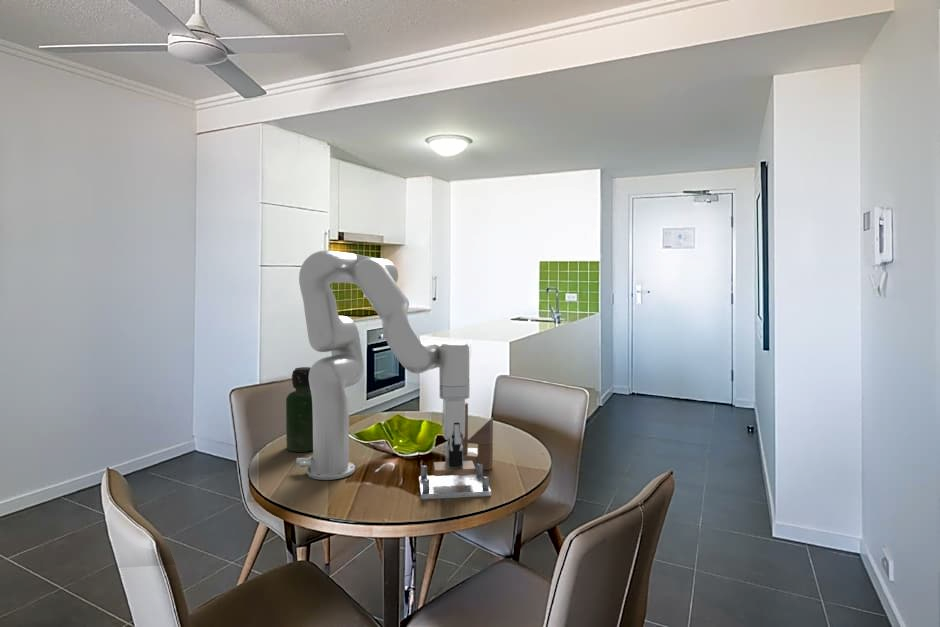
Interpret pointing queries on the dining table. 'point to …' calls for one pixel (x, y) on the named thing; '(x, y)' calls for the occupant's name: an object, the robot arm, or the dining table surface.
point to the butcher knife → (473, 450)
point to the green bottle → (299, 413)
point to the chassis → (454, 485)
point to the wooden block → (479, 444)
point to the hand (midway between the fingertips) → (454, 462)
